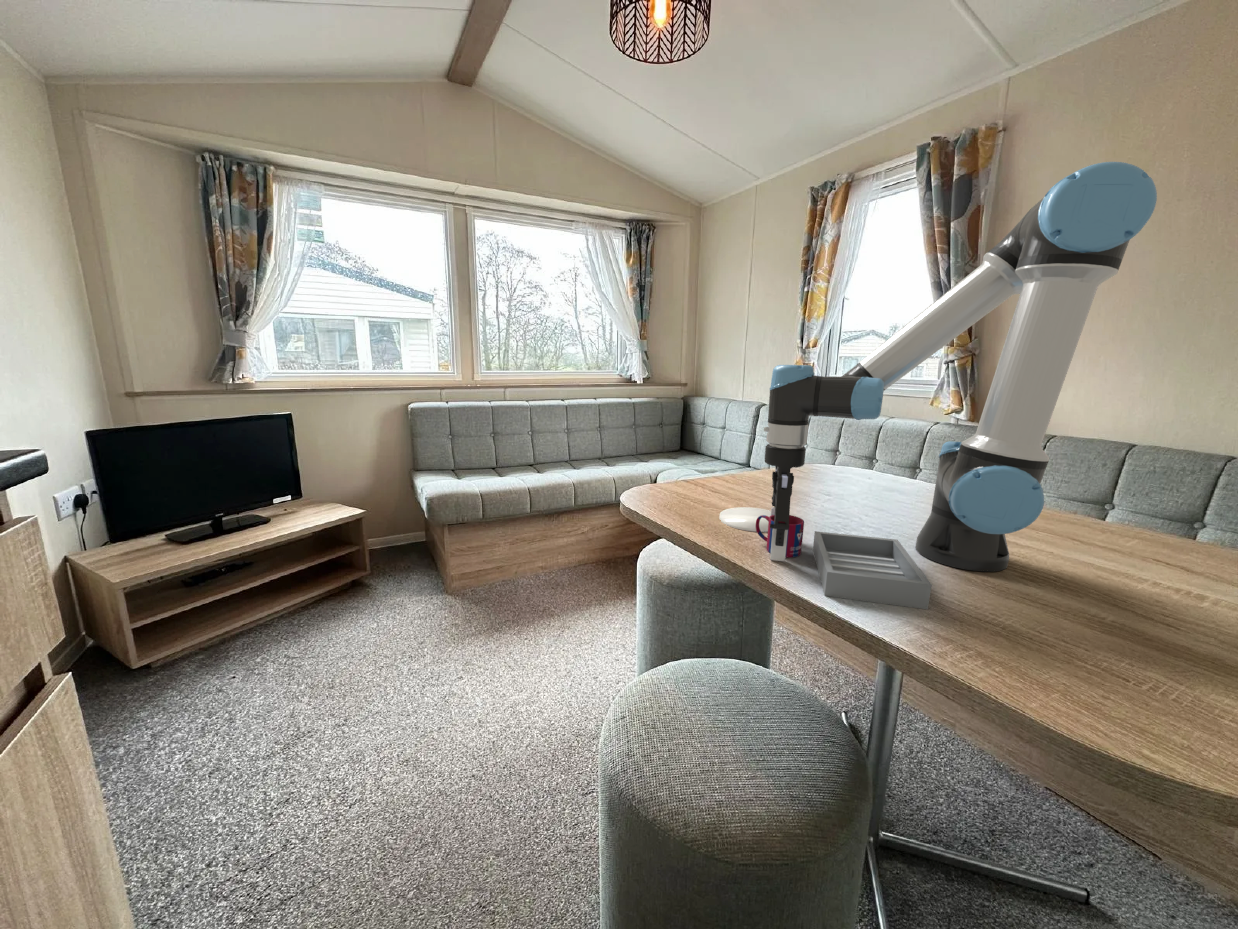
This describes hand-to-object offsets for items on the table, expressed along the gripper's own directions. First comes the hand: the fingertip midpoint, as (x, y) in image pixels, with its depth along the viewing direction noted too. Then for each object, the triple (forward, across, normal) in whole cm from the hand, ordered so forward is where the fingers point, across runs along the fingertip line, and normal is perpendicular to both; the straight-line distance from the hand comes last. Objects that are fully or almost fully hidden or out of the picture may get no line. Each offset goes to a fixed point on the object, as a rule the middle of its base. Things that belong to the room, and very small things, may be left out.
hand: (776, 547), depth 99 cm
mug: (0, 0, 0) cm, 0 cm away
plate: (+1, -17, -5) cm, 18 cm away
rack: (0, +9, +15) cm, 17 cm away
